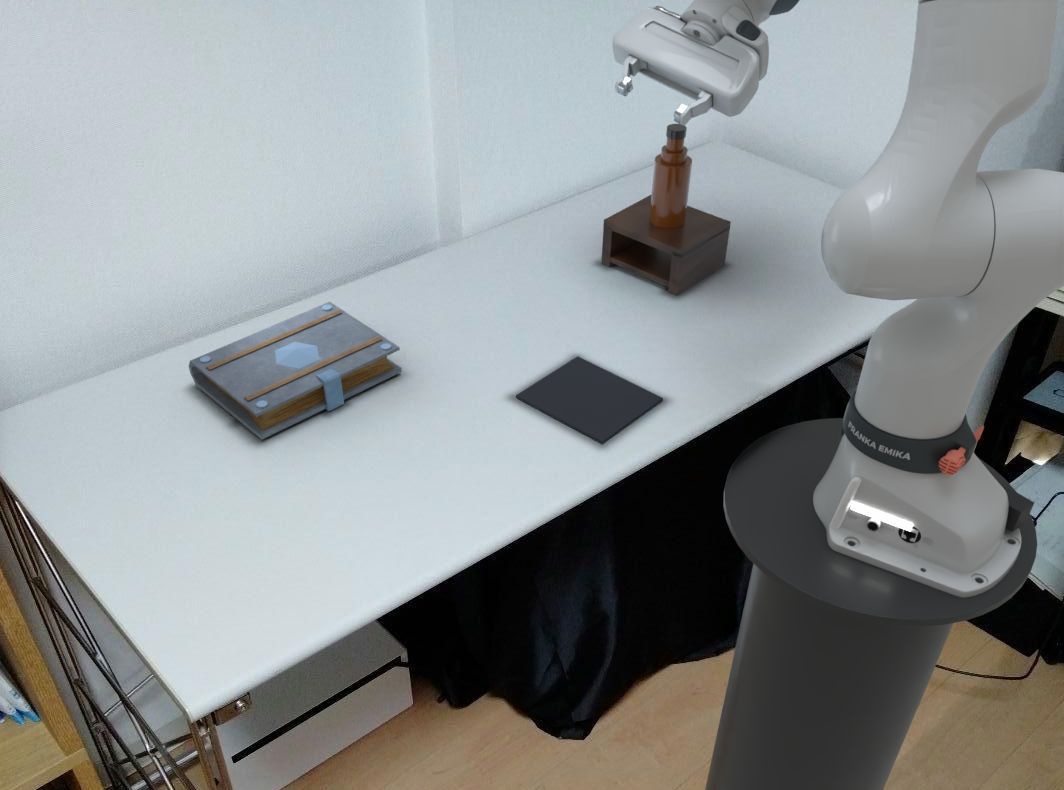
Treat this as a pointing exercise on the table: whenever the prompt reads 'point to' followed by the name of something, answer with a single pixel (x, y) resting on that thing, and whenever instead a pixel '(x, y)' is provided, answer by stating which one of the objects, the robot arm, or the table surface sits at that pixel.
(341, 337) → the book
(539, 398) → the mat
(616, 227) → the shelf
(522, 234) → the table surface
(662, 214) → the bottle
